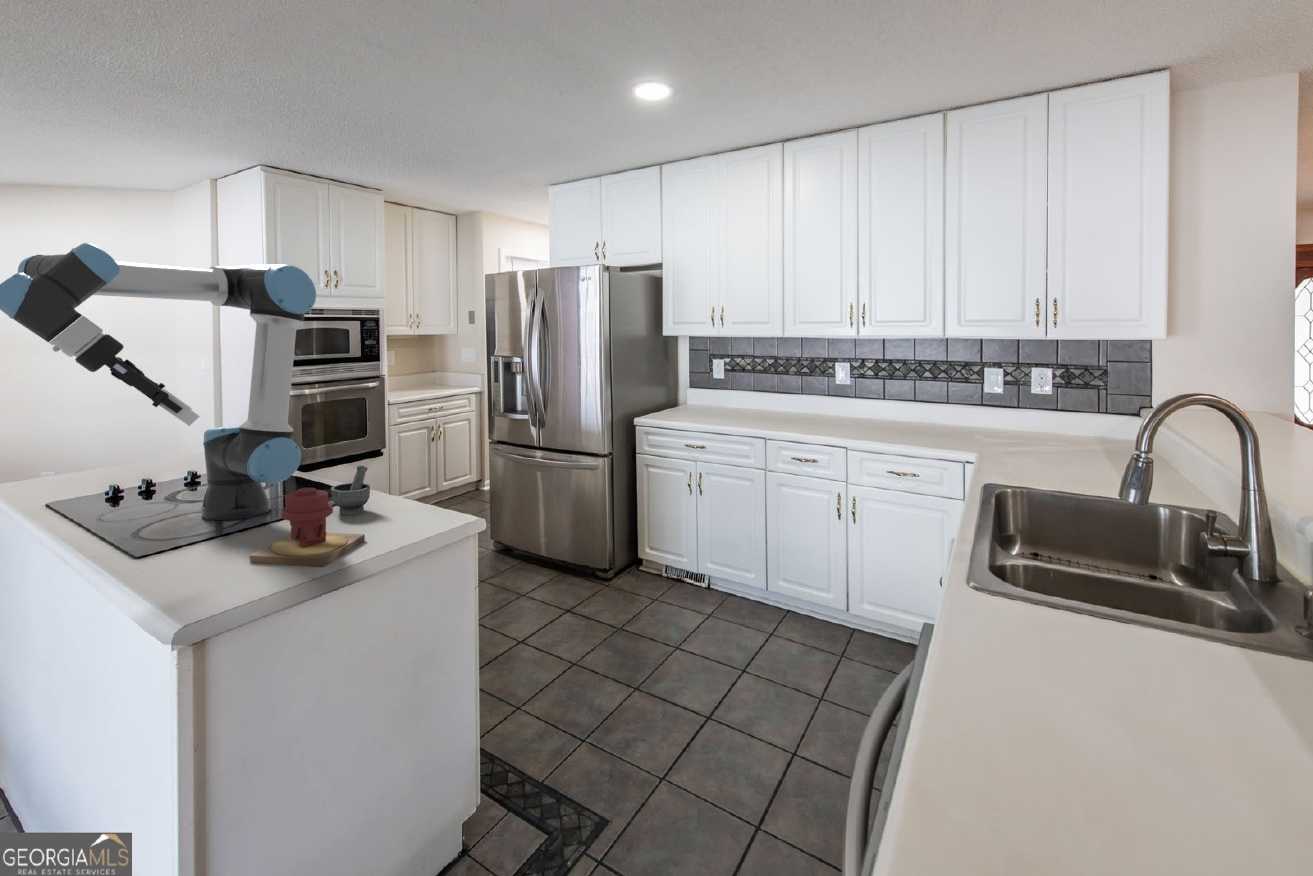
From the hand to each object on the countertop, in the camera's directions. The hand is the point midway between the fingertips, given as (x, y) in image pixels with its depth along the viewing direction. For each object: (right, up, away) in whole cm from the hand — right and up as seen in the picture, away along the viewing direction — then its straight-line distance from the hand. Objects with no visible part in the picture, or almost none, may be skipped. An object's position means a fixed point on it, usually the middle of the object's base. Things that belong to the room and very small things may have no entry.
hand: (190, 417), depth 136 cm
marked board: (+22, -30, +6) cm, 38 cm away
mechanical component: (+22, -28, +6) cm, 36 cm away
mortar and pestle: (+17, -25, +37) cm, 48 cm away
